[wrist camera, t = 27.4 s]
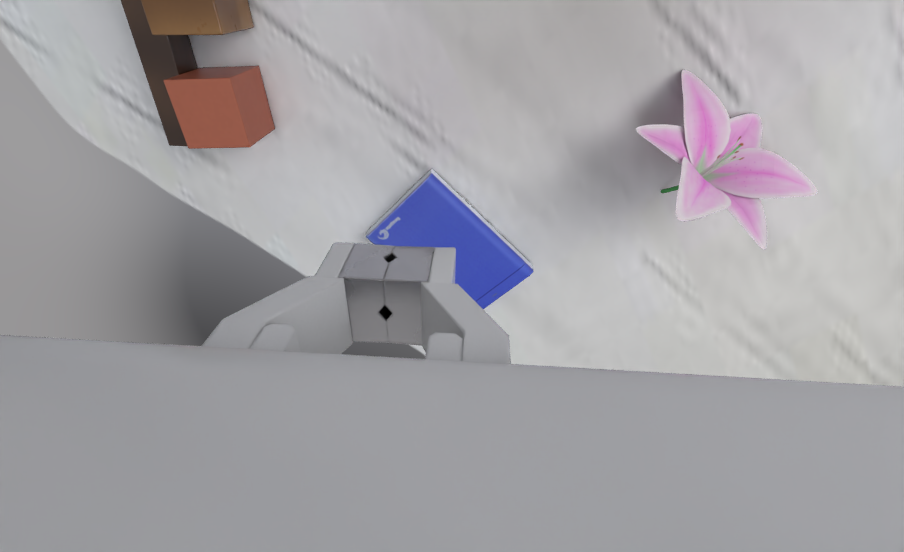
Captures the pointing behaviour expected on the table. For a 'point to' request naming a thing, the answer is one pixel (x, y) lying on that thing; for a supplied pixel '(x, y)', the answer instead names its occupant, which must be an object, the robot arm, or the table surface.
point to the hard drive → (453, 238)
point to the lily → (724, 162)
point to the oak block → (197, 16)
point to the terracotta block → (221, 106)
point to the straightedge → (160, 64)
